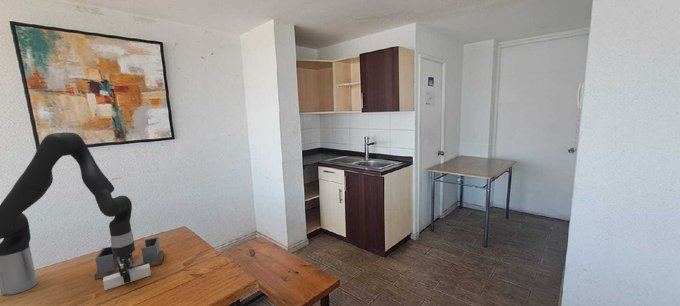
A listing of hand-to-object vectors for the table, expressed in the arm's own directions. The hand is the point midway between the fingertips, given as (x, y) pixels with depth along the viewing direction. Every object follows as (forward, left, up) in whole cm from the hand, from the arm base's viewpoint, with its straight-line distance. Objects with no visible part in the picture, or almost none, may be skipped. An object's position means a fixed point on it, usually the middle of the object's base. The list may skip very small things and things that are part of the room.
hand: (128, 278), depth 120 cm
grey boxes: (-1, +14, +1) cm, 14 cm away
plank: (-1, +14, -1) cm, 14 cm away
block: (0, 0, -1) cm, 1 cm away
